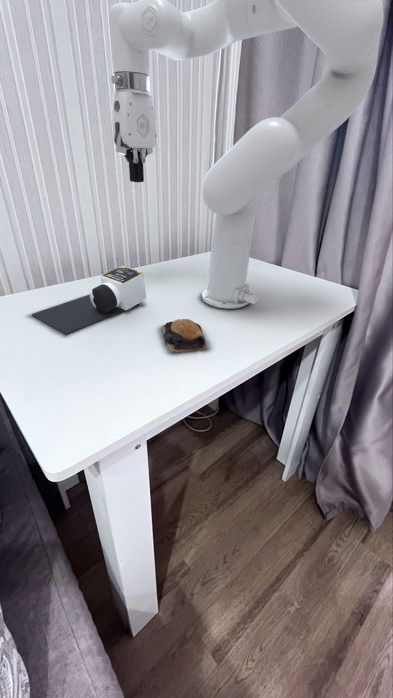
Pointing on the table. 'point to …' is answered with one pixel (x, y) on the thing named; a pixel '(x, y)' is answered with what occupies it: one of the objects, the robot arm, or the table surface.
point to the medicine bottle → (119, 290)
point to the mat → (74, 315)
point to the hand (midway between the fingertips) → (136, 181)
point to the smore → (183, 336)
